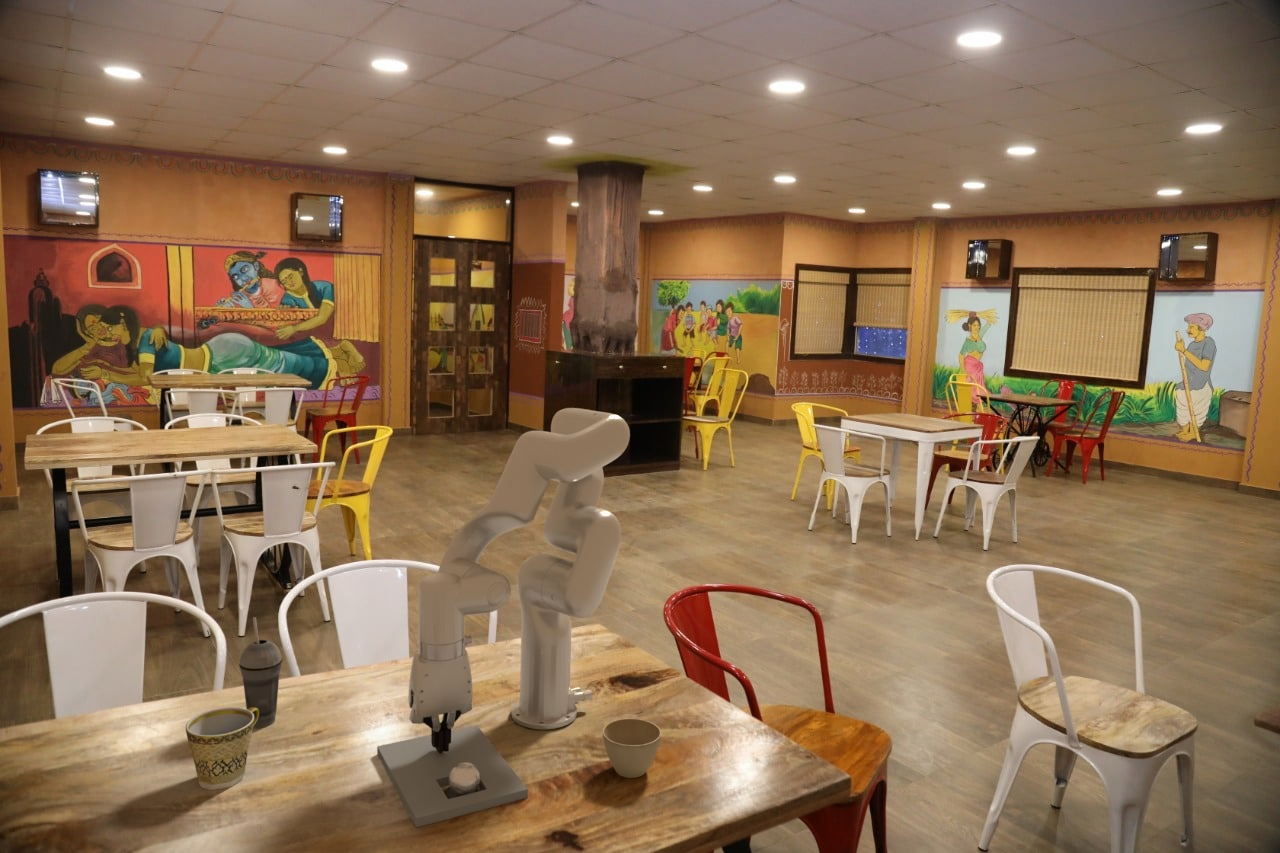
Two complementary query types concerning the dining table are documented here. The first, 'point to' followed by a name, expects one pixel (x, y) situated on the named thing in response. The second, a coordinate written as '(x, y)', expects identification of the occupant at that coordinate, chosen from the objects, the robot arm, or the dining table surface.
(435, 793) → the grey flat plate
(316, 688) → the dining table surface
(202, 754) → the ceramic cup
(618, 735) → the flower pot
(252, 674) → the beverage cup
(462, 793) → the ball
